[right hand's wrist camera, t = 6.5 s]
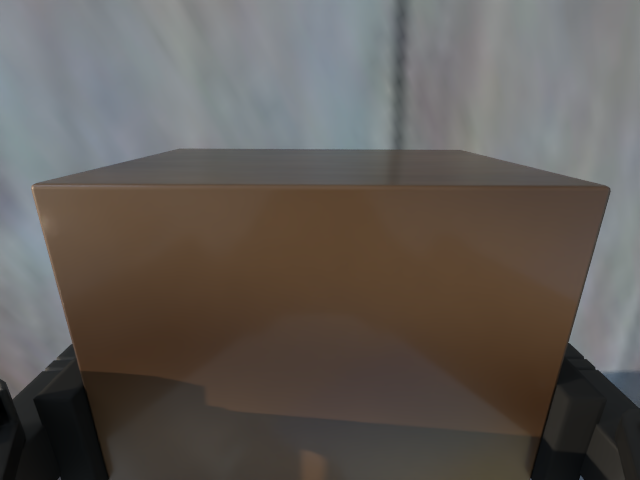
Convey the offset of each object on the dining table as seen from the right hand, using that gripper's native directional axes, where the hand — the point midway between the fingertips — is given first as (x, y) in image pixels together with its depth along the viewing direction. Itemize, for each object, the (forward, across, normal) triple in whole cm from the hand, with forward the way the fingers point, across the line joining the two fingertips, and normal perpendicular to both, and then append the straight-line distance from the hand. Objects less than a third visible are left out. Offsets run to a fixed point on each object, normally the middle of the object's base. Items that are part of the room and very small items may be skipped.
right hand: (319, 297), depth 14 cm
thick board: (0, 0, -21) cm, 21 cm away
